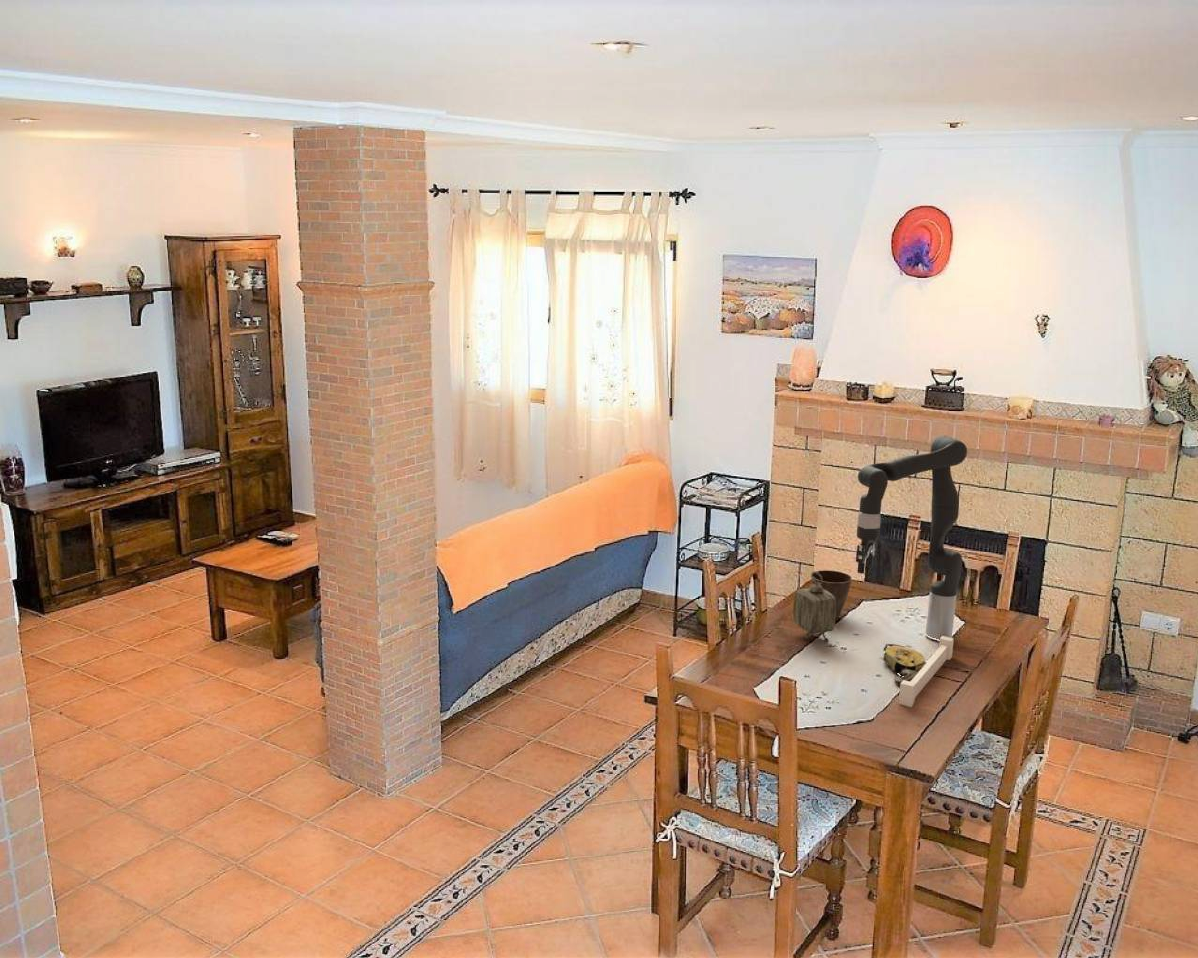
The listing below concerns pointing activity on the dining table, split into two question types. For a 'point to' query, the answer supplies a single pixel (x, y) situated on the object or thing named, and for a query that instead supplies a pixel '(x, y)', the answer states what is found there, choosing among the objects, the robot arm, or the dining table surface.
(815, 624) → the tabletop clock
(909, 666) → the pulley block
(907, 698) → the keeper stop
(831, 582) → the plant pot
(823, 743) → the dining table surface
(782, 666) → the dining table surface
